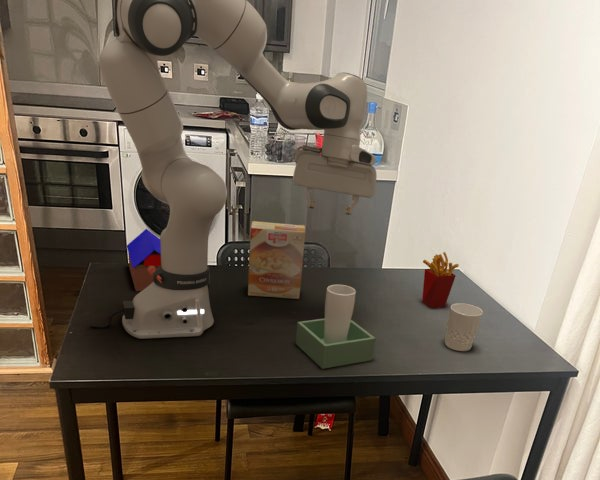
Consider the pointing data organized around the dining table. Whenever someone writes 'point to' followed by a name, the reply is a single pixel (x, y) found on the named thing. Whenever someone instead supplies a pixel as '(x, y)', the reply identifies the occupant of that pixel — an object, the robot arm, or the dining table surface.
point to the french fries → (437, 281)
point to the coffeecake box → (276, 259)
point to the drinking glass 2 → (338, 313)
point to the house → (143, 258)
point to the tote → (334, 344)
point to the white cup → (462, 326)
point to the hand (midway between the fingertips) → (329, 211)
